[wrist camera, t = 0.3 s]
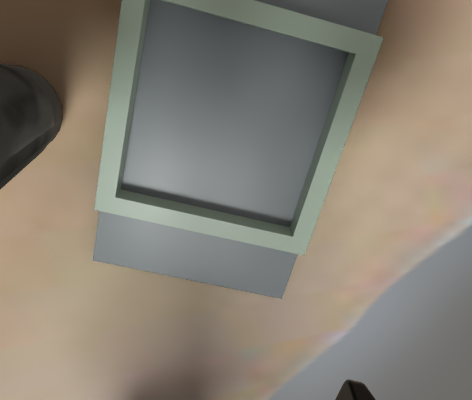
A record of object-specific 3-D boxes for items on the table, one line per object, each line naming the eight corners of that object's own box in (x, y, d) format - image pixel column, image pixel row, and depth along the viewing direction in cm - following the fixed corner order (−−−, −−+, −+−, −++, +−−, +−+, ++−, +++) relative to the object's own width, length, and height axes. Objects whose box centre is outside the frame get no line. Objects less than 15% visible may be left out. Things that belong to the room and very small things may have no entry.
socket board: (280, 293, 26) (284, 310, 24) (95, 255, 25) (86, 271, 23) (420, -102, 18) (439, -116, 16) (157, -189, 17) (149, -213, 15)
